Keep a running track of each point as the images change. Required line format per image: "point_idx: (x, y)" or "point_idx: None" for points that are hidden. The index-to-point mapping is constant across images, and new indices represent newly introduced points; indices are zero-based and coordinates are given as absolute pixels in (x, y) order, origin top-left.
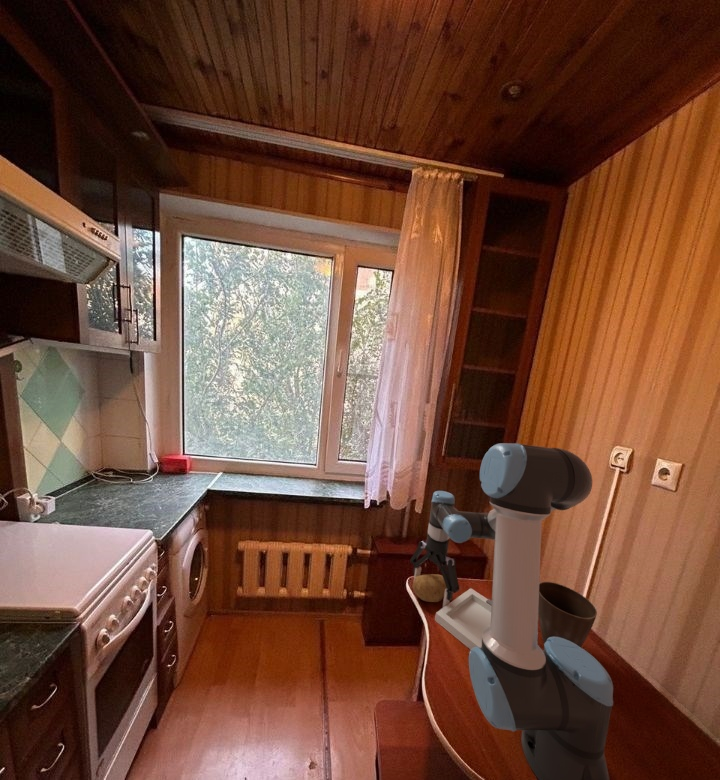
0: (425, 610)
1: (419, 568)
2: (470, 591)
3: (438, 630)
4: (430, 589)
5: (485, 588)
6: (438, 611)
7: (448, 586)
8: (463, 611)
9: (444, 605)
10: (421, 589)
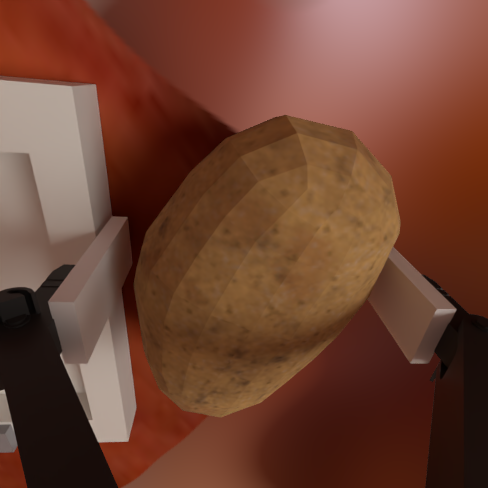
0: (197, 115)
1: (418, 339)
2: (111, 425)
3: (4, 8)
4: (198, 206)
5: (126, 470)
6: (74, 125)
7: (12, 344)
8: None
9: (106, 227)
10: (268, 131)
